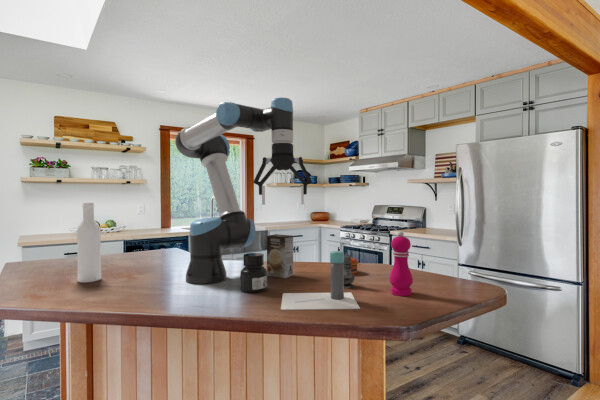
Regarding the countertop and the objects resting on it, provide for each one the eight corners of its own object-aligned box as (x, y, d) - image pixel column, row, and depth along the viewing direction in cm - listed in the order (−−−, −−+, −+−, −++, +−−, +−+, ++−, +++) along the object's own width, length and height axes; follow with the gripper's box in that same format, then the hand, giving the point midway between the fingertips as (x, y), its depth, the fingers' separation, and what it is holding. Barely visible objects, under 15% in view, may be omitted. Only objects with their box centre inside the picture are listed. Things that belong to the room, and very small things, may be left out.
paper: (280, 310, 99) (280, 308, 99) (282, 294, 115) (282, 293, 115) (359, 309, 99) (359, 307, 99) (350, 293, 115) (350, 292, 115)
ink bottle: (259, 294, 115) (258, 257, 114) (235, 292, 118) (234, 256, 118) (271, 287, 124) (271, 252, 124) (249, 285, 127) (248, 251, 127)
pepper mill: (400, 298, 109) (400, 233, 109) (384, 292, 116) (384, 231, 116) (417, 294, 113) (417, 231, 113) (401, 289, 119) (401, 229, 119)
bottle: (79, 283, 131) (78, 202, 131) (75, 280, 137) (74, 202, 137) (103, 280, 136) (102, 202, 136) (98, 276, 142) (97, 201, 142)
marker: (331, 300, 107) (330, 253, 107) (329, 296, 111) (329, 251, 111) (345, 299, 107) (344, 253, 107) (343, 295, 111) (342, 251, 111)
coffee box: (266, 275, 142) (265, 235, 141) (275, 272, 147) (275, 234, 147) (285, 278, 137) (284, 236, 136) (294, 275, 142) (293, 235, 142)
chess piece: (355, 288, 121) (354, 253, 121) (337, 288, 122) (337, 253, 122) (355, 284, 126) (355, 250, 126) (339, 283, 128) (338, 250, 127)
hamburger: (330, 272, 148) (330, 256, 148) (349, 269, 152) (349, 254, 152) (342, 276, 140) (342, 259, 140) (362, 274, 144) (362, 257, 144)
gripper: (245, 142, 120) (245, 204, 121) (318, 141, 121) (319, 204, 121) (248, 145, 128) (248, 204, 128) (317, 144, 128) (317, 203, 128)
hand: (283, 204), depth 124 cm, fingers open, 13 cm apart
